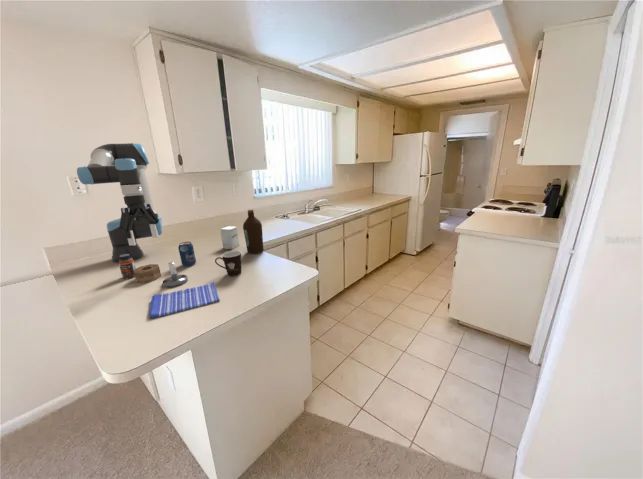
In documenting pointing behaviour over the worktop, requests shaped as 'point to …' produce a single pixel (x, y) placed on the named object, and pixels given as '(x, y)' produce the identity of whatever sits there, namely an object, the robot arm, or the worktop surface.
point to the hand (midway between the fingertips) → (144, 241)
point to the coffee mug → (231, 262)
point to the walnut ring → (147, 273)
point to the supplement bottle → (127, 266)
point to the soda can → (187, 254)
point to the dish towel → (183, 300)
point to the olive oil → (253, 234)
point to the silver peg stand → (174, 277)
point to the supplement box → (229, 237)
